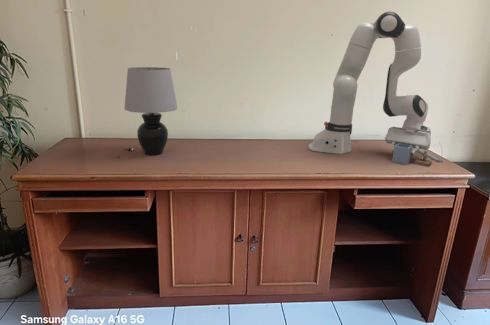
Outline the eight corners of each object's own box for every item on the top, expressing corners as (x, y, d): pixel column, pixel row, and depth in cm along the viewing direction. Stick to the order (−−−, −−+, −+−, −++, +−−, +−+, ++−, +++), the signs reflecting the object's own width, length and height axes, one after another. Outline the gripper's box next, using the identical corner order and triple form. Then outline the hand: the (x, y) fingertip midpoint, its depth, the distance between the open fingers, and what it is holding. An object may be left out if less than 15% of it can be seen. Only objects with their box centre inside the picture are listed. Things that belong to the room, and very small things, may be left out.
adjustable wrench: (443, 163, 172) (444, 160, 172) (430, 163, 172) (431, 160, 171) (417, 149, 196) (417, 146, 195) (406, 149, 196) (406, 145, 195)
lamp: (125, 161, 159) (118, 69, 147) (130, 147, 182) (124, 66, 169) (179, 159, 164) (176, 70, 152) (177, 145, 187) (175, 67, 174)
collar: (406, 164, 167) (409, 148, 165) (392, 162, 171) (394, 145, 168) (409, 161, 172) (412, 145, 169) (395, 159, 176) (398, 143, 173)
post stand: (428, 166, 165) (431, 154, 163) (415, 164, 169) (417, 151, 167) (431, 163, 170) (433, 151, 168) (417, 161, 173) (420, 149, 171)
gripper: (389, 122, 179) (380, 145, 174) (433, 128, 167) (425, 153, 162) (390, 129, 183) (381, 151, 179) (433, 136, 172) (425, 160, 167)
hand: (402, 152), depth 171 cm, fingers open, 7 cm apart
